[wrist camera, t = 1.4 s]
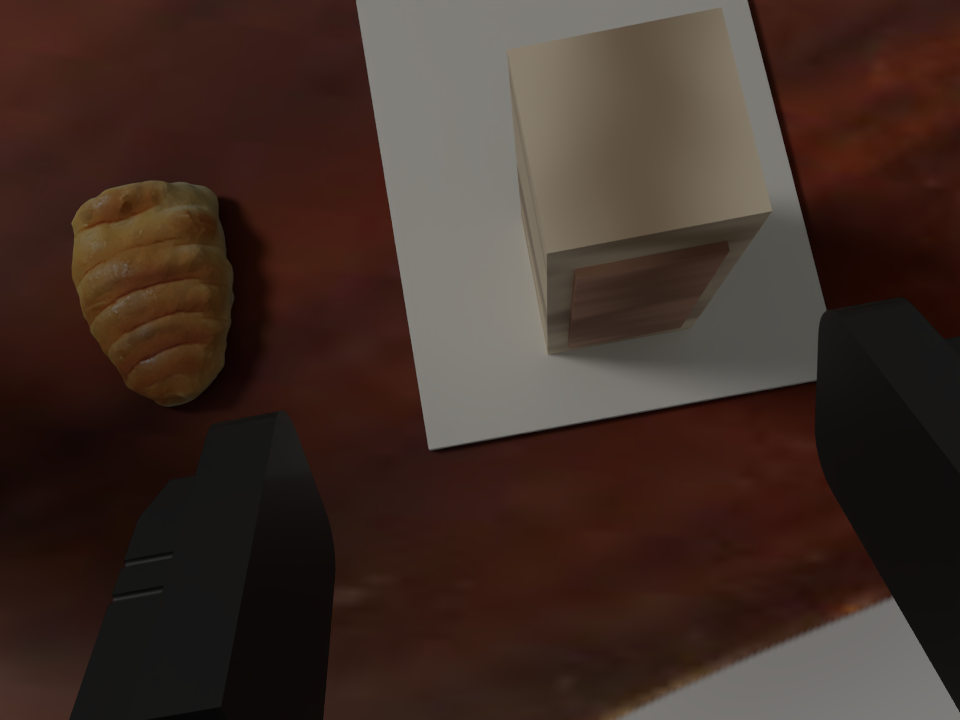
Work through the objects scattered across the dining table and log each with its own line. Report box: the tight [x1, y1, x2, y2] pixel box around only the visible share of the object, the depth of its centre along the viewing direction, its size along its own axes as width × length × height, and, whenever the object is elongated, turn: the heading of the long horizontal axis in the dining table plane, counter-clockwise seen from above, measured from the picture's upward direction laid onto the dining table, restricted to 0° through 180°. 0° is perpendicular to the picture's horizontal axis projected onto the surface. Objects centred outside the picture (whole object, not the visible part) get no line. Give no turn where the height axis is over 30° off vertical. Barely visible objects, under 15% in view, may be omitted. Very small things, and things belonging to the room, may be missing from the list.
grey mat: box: [356, 0, 827, 451], centre depth 40 cm, size 17×26×1 cm, turn 10°
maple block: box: [507, 7, 772, 355], centre depth 32 cm, size 6×6×14 cm
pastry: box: [72, 181, 234, 407], centre depth 39 cm, size 9×7×4 cm
